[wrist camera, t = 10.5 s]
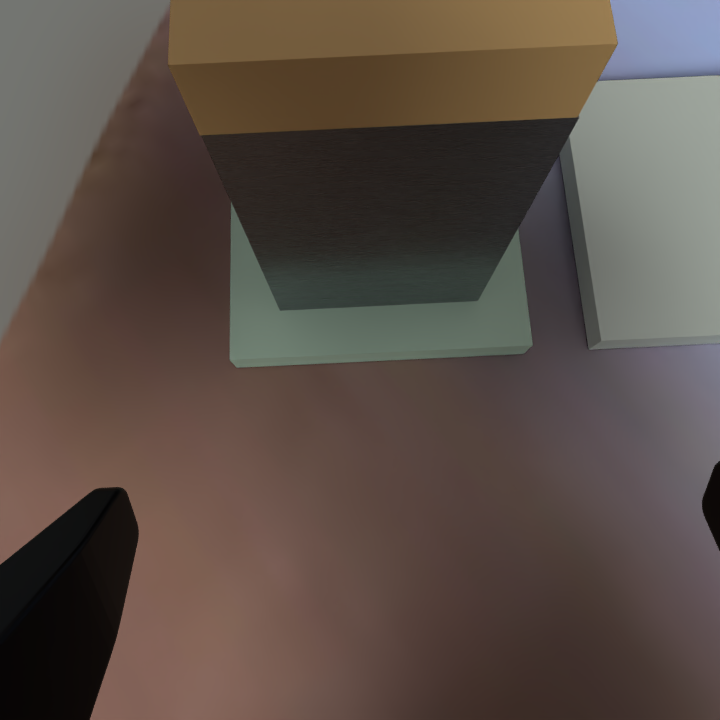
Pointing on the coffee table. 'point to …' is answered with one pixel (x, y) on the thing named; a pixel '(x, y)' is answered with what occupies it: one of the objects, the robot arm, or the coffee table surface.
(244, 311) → the stand
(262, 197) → the base
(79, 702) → the robot arm
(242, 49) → the cover
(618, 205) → the stand
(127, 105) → the coffee table surface
